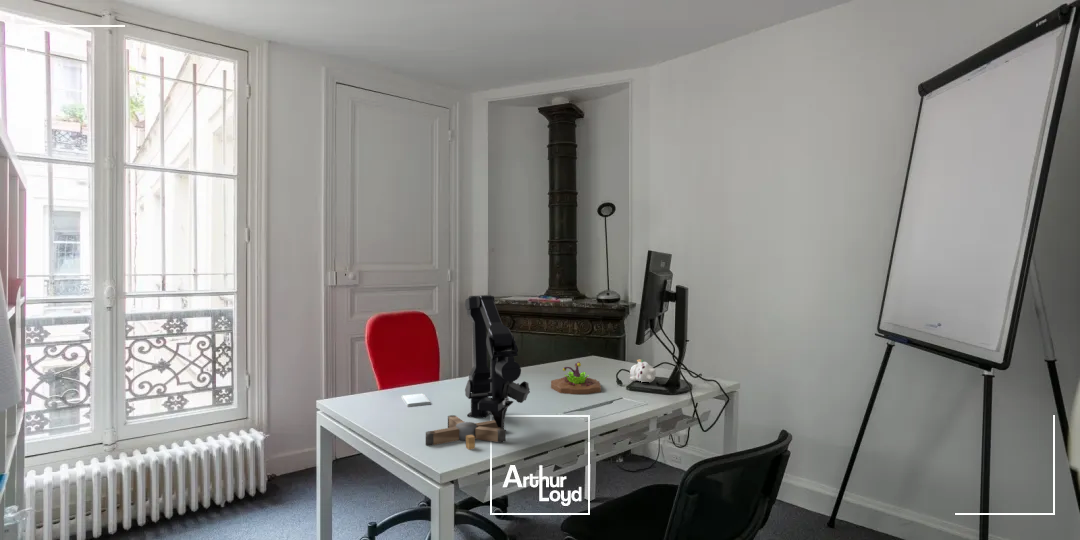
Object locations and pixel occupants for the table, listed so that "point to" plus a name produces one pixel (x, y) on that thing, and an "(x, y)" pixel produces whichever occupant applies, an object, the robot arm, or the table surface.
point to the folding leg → (490, 434)
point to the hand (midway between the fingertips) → (500, 426)
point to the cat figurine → (642, 372)
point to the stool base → (458, 432)
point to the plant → (576, 383)
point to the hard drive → (415, 400)
